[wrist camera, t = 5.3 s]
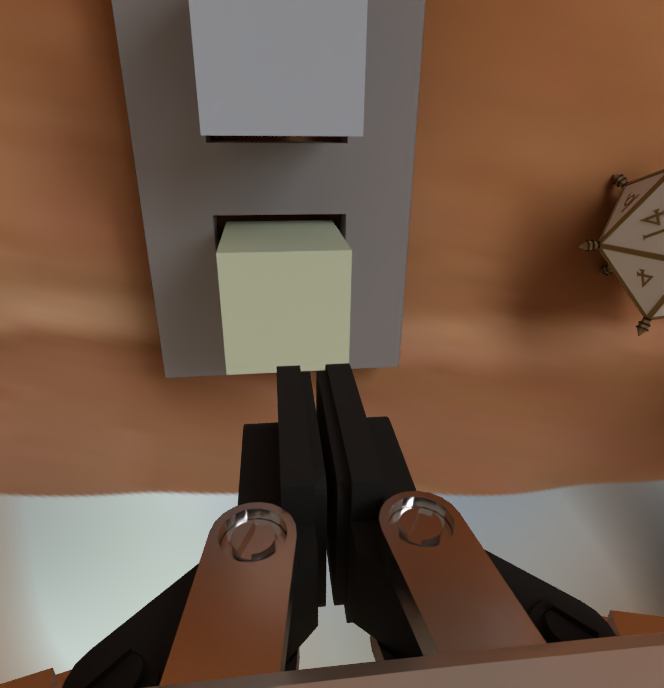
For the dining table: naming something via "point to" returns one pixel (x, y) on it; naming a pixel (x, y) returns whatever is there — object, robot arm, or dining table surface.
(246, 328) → the sage block
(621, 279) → the game die
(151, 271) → the board
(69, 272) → the dining table surface
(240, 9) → the slate block
